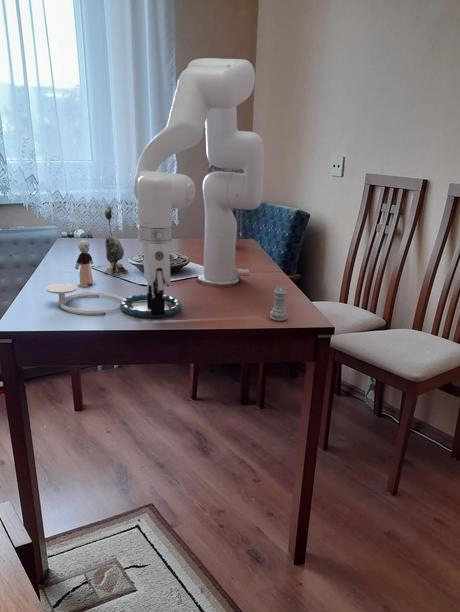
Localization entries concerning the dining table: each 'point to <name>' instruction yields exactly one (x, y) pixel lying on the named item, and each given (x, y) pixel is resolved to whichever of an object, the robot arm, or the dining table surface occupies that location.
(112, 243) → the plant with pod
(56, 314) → the dining table surface
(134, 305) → the post
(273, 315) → the rook chess piece
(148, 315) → the ring
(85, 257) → the grandmother figurine
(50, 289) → the hand towel holder
